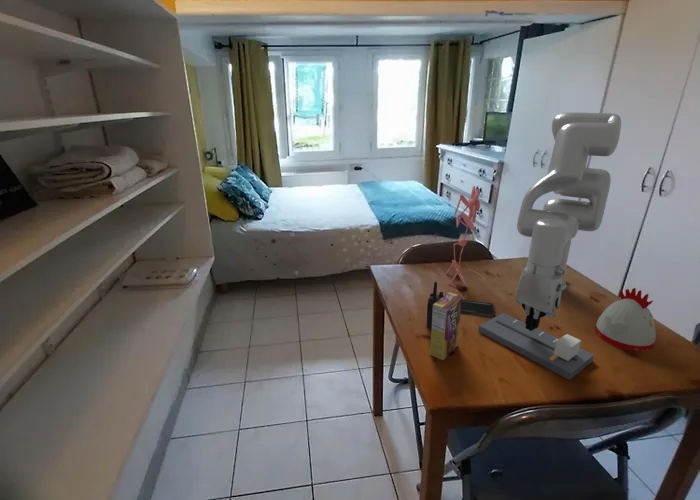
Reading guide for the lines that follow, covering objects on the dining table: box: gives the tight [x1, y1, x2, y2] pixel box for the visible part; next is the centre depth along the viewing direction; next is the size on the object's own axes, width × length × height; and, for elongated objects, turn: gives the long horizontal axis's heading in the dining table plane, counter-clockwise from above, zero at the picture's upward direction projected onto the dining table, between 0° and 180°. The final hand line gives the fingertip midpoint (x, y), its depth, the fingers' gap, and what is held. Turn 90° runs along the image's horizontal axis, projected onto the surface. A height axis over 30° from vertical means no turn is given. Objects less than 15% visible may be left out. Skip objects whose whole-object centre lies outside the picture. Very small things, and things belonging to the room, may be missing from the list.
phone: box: [461, 299, 496, 318], centre depth 125 cm, size 8×1×15 cm
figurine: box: [445, 185, 488, 293], centre depth 138 cm, size 15×26×35 cm, turn 174°
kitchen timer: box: [594, 287, 657, 352], centre depth 108 cm, size 14×14×15 cm
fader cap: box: [554, 333, 582, 361], centre depth 98 cm, size 5×4×4 cm
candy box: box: [429, 291, 463, 361], centre depth 102 cm, size 9×4×15 cm, turn 140°
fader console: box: [477, 312, 595, 381], centre depth 106 cm, size 12×26×2 cm, turn 36°
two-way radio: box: [426, 281, 444, 330], centre depth 113 cm, size 6×4×15 cm
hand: (531, 328), depth 106 cm, fingers closed
